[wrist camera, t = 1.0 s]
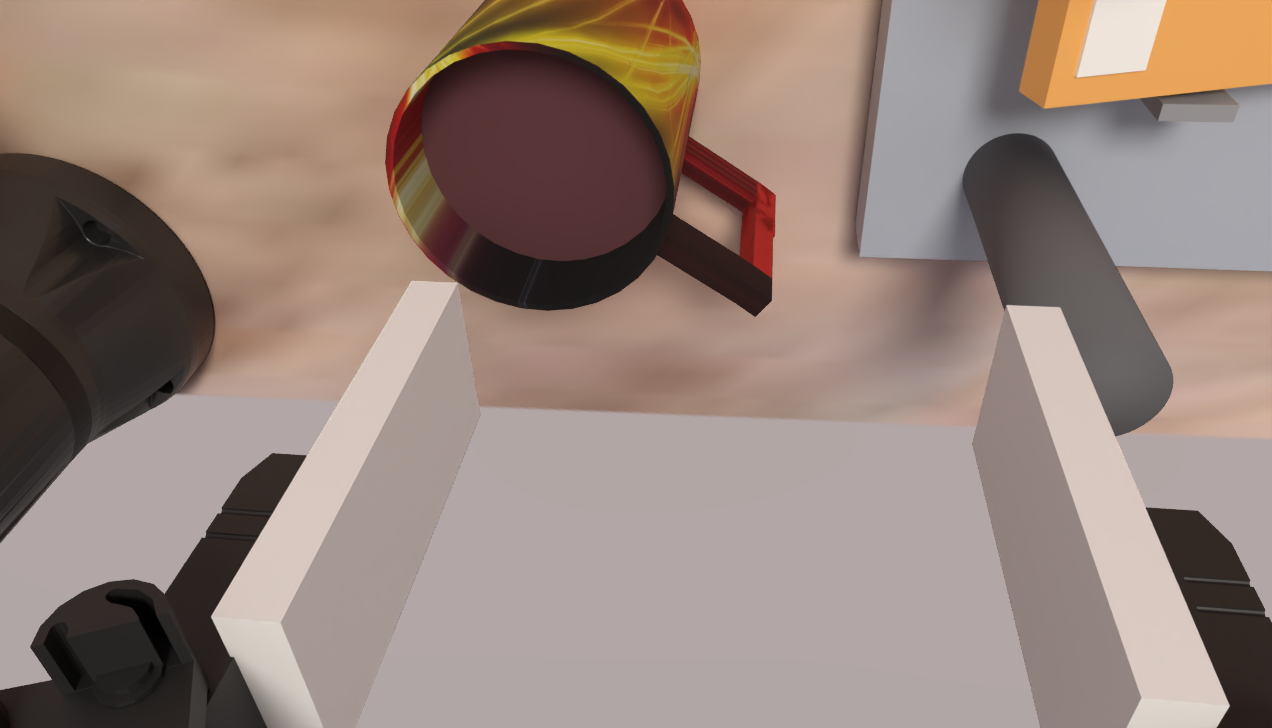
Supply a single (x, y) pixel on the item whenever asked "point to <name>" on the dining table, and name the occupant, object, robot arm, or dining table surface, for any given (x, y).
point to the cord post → (1065, 272)
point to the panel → (1054, 148)
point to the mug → (568, 157)
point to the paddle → (1144, 49)
